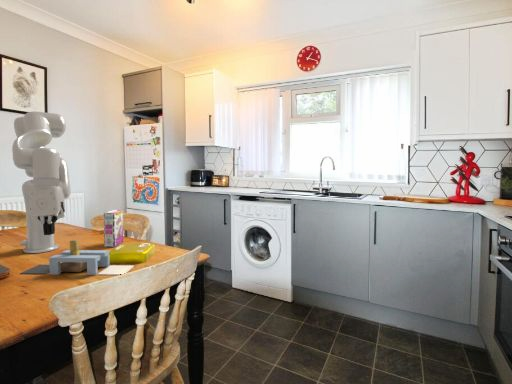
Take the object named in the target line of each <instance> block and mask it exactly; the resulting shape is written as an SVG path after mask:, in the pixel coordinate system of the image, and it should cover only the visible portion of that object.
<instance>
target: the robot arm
mask: <svg viewBox="0 0 512 384" xmlns="http://www.w3.org/2000/svg"><path fill="white" fill-rule="evenodd" d="M13 128H14V133H15V136H16V138H15V140H14V141H13V143H12V149H11V151H12V160H13V165H14V166H15V167H16V168H18V169H21V170H24V171H25V175H26V176H27V177H29V178H32V179H30V180H29V179H28V180H26V181H25V182H23V183H22V185H21V192H22V195H23V201H24V206H25V218H26V219H25V220H26V222H25V223H26V239H23V240H21V242H19V245H20V246H25V247H24V248H23V252H24V254H25V253H26V254H38V253H39V254H40V253H46V252H51V251H55V250H57V249H58V248H59V244H58V243H55V232H56V228H55V227H56V226H55V223H57V221H58V220H59V219H63V218H65V213H66V202H65V200H67V199H68V198H70V196H71V184H70V183H71V182H70V175H69V167H68V163H67V161H66V160H65V159H64V158H62V154H60V153H59V152H58V150H57V149H55V148H51V147H46V146H47V145H49V144H50V143H51V142H52V140H53V138H54V139H56V138H61V136H63V135H64V133H65V131H66V129H67V124H66V120H65V118H64V117H63V116H62V115H61V114H58V113H53V112H52V113H51V112H43V111H35V110H34V111H29V112H26V113H25V114H24V115H23V116H19V117H16V118H15V119H14V121H13Z"/></svg>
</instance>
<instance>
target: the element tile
mask: <svg viewBox="0 0 512 384" xmlns="http://www.w3.org/2000/svg"><path fill="white" fill-rule="evenodd" d="M155 247H156V246H155V244H154V243H152V242H151V243H140V242H139V243H120V244H118V245H117V246H115V247H113V249H111V250H109V263H110V264H138V263H139V264H143V263H146V262H147V261H149V260H150V259H151V258H152V256H153V255H155V253H156V249H155Z"/></svg>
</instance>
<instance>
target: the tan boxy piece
mask: <svg viewBox="0 0 512 384" xmlns="http://www.w3.org/2000/svg"><path fill="white" fill-rule="evenodd" d="M69 250H70V255H80V250H81V249H80V240H79V239H70V240H69ZM60 265H61V272H62V273H63V272H64V273H65V272H71V273H72V272H74V273H75V272H77V273H80V272H82V271H84V270H87V262H60Z"/></svg>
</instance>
